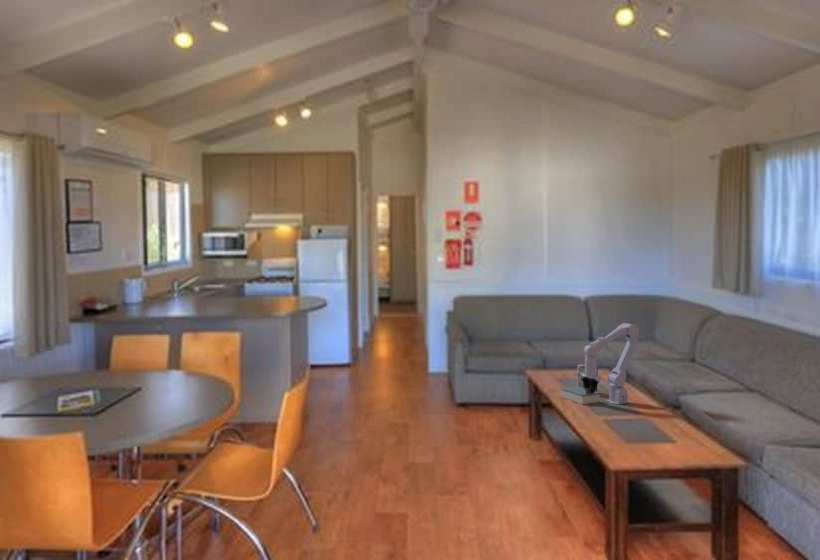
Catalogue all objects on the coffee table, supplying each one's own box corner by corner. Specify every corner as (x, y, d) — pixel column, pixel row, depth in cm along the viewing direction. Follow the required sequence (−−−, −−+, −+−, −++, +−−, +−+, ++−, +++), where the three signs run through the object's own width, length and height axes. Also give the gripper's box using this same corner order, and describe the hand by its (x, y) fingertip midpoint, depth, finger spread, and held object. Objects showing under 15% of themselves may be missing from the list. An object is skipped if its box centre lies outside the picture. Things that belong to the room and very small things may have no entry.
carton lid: (599, 393, 377) (599, 387, 377) (582, 396, 372) (582, 389, 372) (578, 387, 393) (578, 381, 393) (561, 389, 388) (561, 383, 388)
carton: (599, 402, 378) (599, 394, 377) (582, 404, 372) (582, 396, 372) (578, 395, 394) (578, 387, 393) (561, 397, 389) (561, 390, 388)
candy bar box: (578, 393, 398) (578, 365, 397) (576, 391, 403) (577, 364, 402) (597, 394, 397) (598, 366, 396) (596, 392, 402) (596, 364, 401)
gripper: (575, 365, 379) (575, 389, 380) (593, 370, 366) (593, 395, 367) (585, 364, 382) (585, 388, 383) (603, 368, 369) (603, 393, 370)
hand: (590, 391), depth 375 cm, fingers open, 4 cm apart
